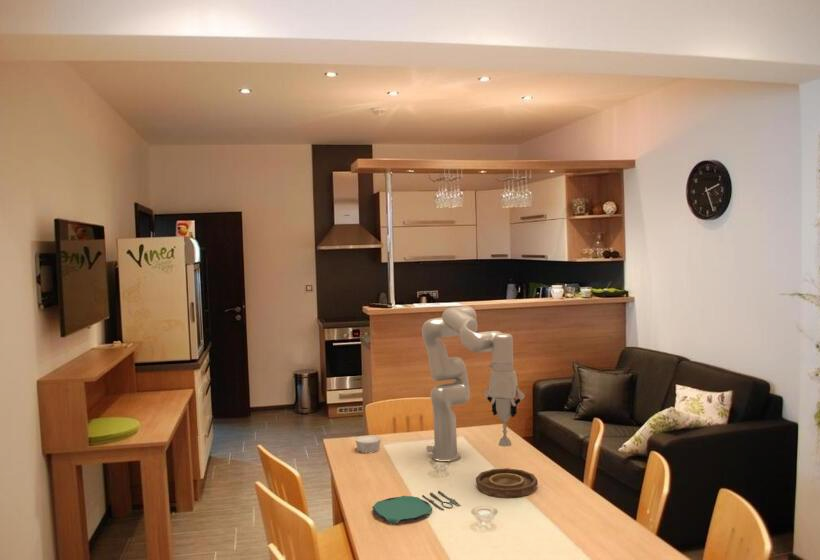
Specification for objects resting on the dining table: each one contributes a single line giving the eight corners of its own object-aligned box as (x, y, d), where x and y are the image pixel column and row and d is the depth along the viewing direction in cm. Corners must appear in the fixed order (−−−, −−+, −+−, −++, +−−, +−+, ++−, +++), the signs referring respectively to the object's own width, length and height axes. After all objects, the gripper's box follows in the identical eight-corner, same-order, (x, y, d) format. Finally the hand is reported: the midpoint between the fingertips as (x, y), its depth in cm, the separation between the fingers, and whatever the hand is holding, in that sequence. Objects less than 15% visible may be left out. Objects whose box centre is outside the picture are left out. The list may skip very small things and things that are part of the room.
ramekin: (352, 448, 291) (352, 437, 291) (375, 445, 295) (375, 433, 295) (361, 455, 281) (360, 443, 280) (384, 451, 285) (384, 439, 285)
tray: (468, 493, 233) (468, 485, 233) (488, 473, 253) (487, 465, 253) (527, 501, 223) (527, 493, 223) (543, 480, 243) (542, 472, 243)
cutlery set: (363, 508, 223) (363, 502, 222) (438, 492, 236) (438, 486, 236) (388, 530, 205) (388, 523, 205) (467, 511, 219) (467, 505, 219)
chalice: (514, 441, 240) (513, 394, 240) (515, 447, 234) (514, 398, 233) (494, 441, 241) (493, 394, 240) (495, 447, 234) (494, 398, 234)
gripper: (477, 367, 237) (479, 415, 237) (523, 370, 229) (524, 419, 230) (484, 364, 243) (485, 410, 244) (528, 366, 236) (530, 414, 237)
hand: (504, 414), depth 237 cm, fingers closed on chalice, 6 cm apart
